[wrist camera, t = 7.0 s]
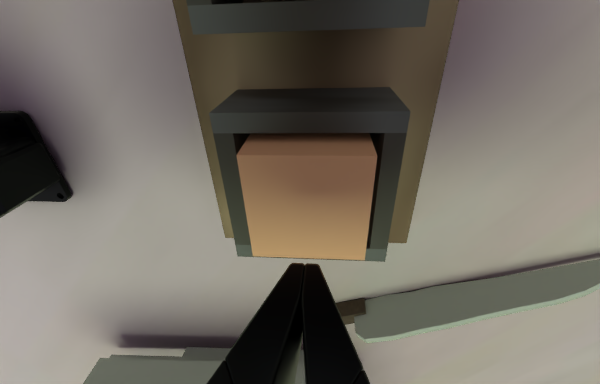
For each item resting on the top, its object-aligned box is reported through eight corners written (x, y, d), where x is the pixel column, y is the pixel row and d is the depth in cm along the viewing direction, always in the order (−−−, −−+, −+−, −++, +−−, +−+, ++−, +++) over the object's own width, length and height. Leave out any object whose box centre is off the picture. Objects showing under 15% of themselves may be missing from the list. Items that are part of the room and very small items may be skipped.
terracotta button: (268, 206, 16) (252, 256, 13) (259, 120, 14) (236, 155, 10) (356, 207, 16) (364, 260, 13) (364, 119, 13) (377, 155, 10)
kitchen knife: (258, 359, 25) (716, 300, 16) (252, 352, 25) (721, 288, 16) (268, 316, 29) (648, 248, 20) (263, 309, 28) (650, 237, 19)
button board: (233, 219, 21) (203, 284, 16) (131, -304, 10) (-91, -665, 4) (399, 223, 20) (423, 294, 15) (511, -359, 9) (782, -908, 3)
